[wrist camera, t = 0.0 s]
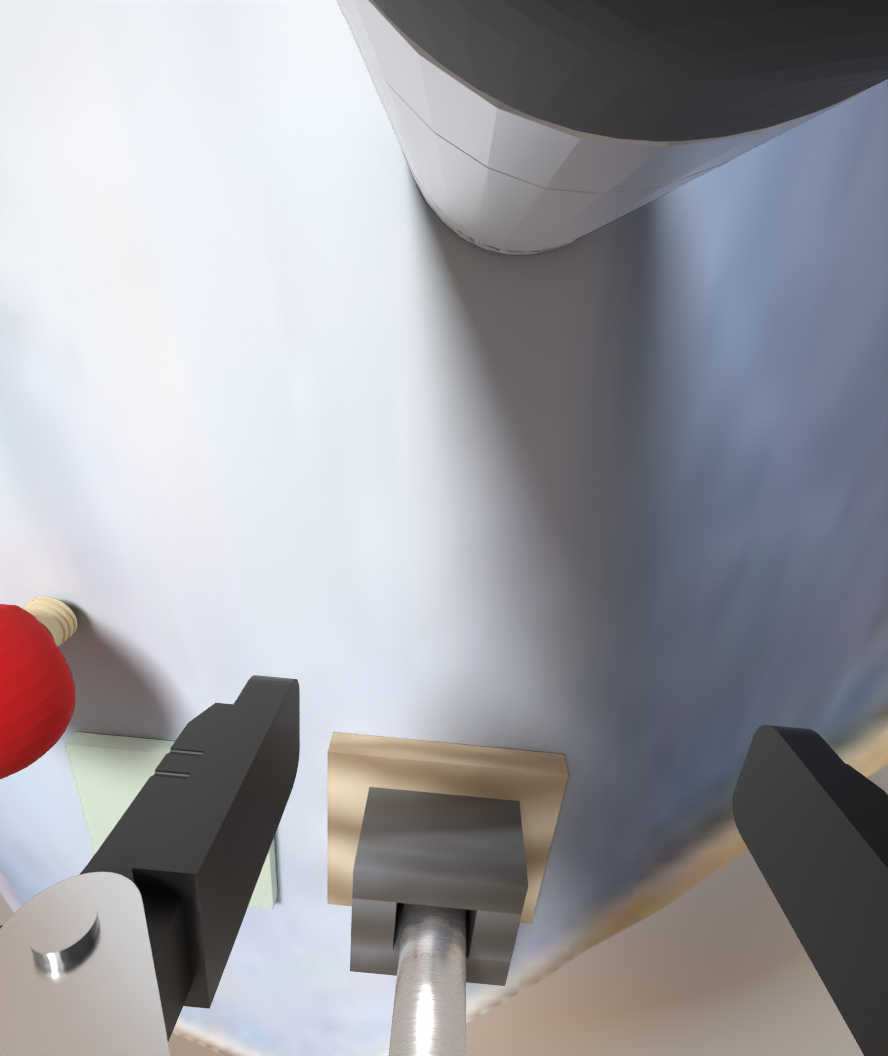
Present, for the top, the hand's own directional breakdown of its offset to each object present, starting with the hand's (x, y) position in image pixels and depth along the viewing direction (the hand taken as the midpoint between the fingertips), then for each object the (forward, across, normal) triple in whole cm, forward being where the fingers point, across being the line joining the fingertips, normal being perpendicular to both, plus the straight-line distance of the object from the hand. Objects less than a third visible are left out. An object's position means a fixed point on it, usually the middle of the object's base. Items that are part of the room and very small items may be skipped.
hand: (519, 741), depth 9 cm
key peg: (+17, 0, +24) cm, 29 cm away
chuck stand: (+19, 0, +23) cm, 30 cm away
